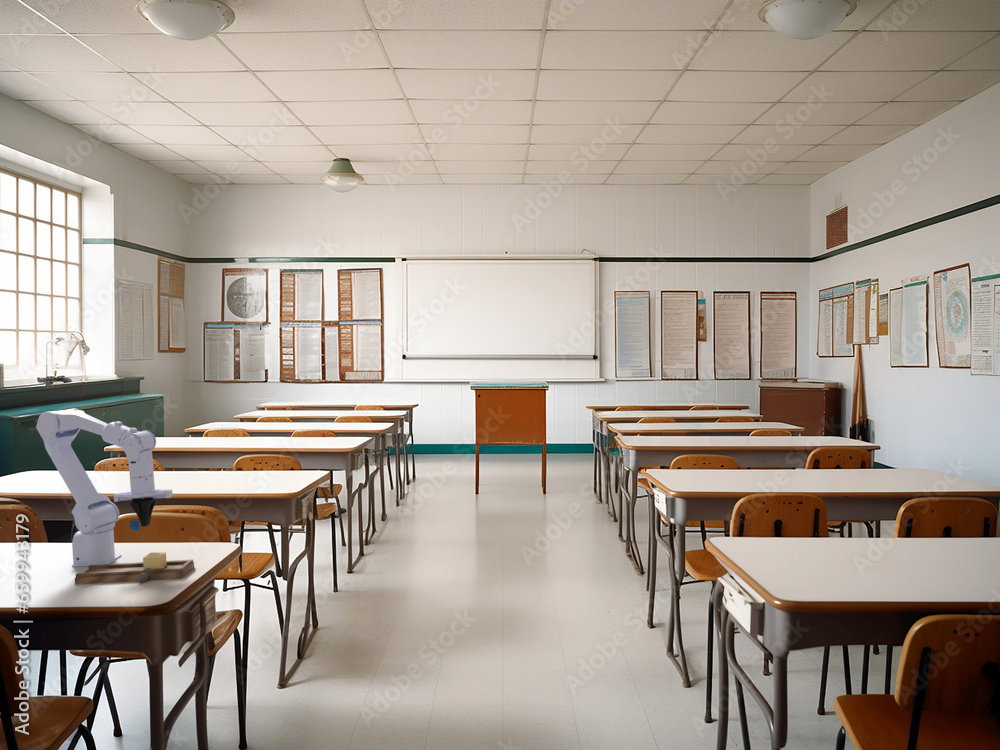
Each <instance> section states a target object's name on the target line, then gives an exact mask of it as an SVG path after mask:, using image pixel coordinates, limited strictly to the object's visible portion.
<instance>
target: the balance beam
mask: <svg viewBox="0 0 1000 750" xmlns="http://www.w3.org/2000/svg"><path fill="white" fill-rule="evenodd" d="M166 563H167V565H166V566H165V567H164V568H160V569H150V568H145V569H144V567H143V561H139V562H138V561H137V562H124V563H123V562H121V563H119V562H118V563H110V564H98V565H90V566H87V567H88V569H87V570H85V571H83V572H76V573H75V577H74V585H81V584H83V585H84V584H96V583H97V584H99V583H118V582H135V581H137V582H139V583H141V584H142V583H145V582H147V581H153V580H168V579H169V580H171V579H172V580H173V579H183V578H184V577H185V576H187V575H188V574H189V573H190V572H191V571H192V570H193V569H194V568H195V561H194V559H179V560H176V559H175V560H166Z"/></svg>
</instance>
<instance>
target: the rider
mask: <svg viewBox="0 0 1000 750" xmlns="http://www.w3.org/2000/svg"><path fill="white" fill-rule="evenodd" d="M166 561H167V552H166V551H164V552H163V551H162V552H161V551H160V552H150V553H148V554H146V555H145V556H144V557H142V562H143V567H144V569H145V568H150V569H160V568H164V567H165V566H166V565H167V563H166Z"/></svg>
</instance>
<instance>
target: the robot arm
mask: <svg viewBox="0 0 1000 750" xmlns="http://www.w3.org/2000/svg"><path fill="white" fill-rule="evenodd" d="M35 428H36V430H37V431H38V434H39V435H40V438H42V441H43V443H44V448H45V450H46V452H47V454H48V456H49V457H50V459H51V460H52V463H53V464H54V466H55V468H56V470H57V472H58V473H59V475H60V476H61V478H62V480H63V481H64V483H65V485H66V487H67V489H68V490H69V493H70V495H72V498H73V499H74V501H75V505H74V506H73V508H72V510H71V514H72V516H73V519H74V523H75V526H76V528H77V530H78V531H77V532H75V533H74V535H73V538H72V541H71V545H72V546H71V547H72V565H71V567H75V568H77V567H88V566H90V565H98V564H112V563H113V562H114V561H116V560H117V559H119V558H120V557H122V554H121V553H117V554H115V553H116V551H115V537H114V535H115V534H114V527H116V523H117V521H119V519H120V510H119V508H118V506H117V505H116V504H115V503H117V502H121V501H122V502H123V501H131V502H130V503H129V505H130V507H131V508H132V509H133V511H134V512H135V514H136V516H137V517H138V520H139V523H140V526H141V527H148V526H150V524H151V519H152V513H153V510H154V507H155V505H156V503H157V501H158V499H163V498H165V499H171V498H173V496H174V495H173V489H156V488H155V487H156V486H155V474H154V472H155V471H154V462H153V461H154V460H153V450H154V448H155V447H156V445H157V439H156V436H155V434H154V433H153V432H151V431H150V430H148V429H145V430H141V431H139V430H137V428H136V427H129V426H127V425H124V424H123V422H122V421H119V420H118V421H112V422H109V423H107V422H105V421H102V420H100V419H98V418H96V417H94V416H91V415H89V414H87V413H85V411H84V410H79V409H78V408H74V407H73V408H68V409H63V410H61V409H60V410H54V411H43V412H42V413H41V414H40V415H39V417H38V419H37V423H36V426H35ZM80 430H83V431H85V432H90V433H93V434H96V435H99V436H101V438H102V440H103V442H105V443H108V444H110V445H114V446H116V447H119V448H121V450H123V452H124V454H125V455H126V460H127V461H128V471H129V486H130V491H127V492H117V493H114V494H113V502H114V503H113V502H112V501H111V500H110V498H109V497H108V496H107V495H104V494H103V493H99V492H98V490H97V489H96V487H95V485H94V483H93V482H92V480H91V478H90V477H89V475H88V473H87V472H86V470H85V468H84V467H83V464H82V463H81V461H80V460H79V457H78V456H77V454H76V452H75V451H74V449H73V447H72V442H73V441H74V440H75V438H76V437H77V435H78V434H79V432H80Z"/></svg>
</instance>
